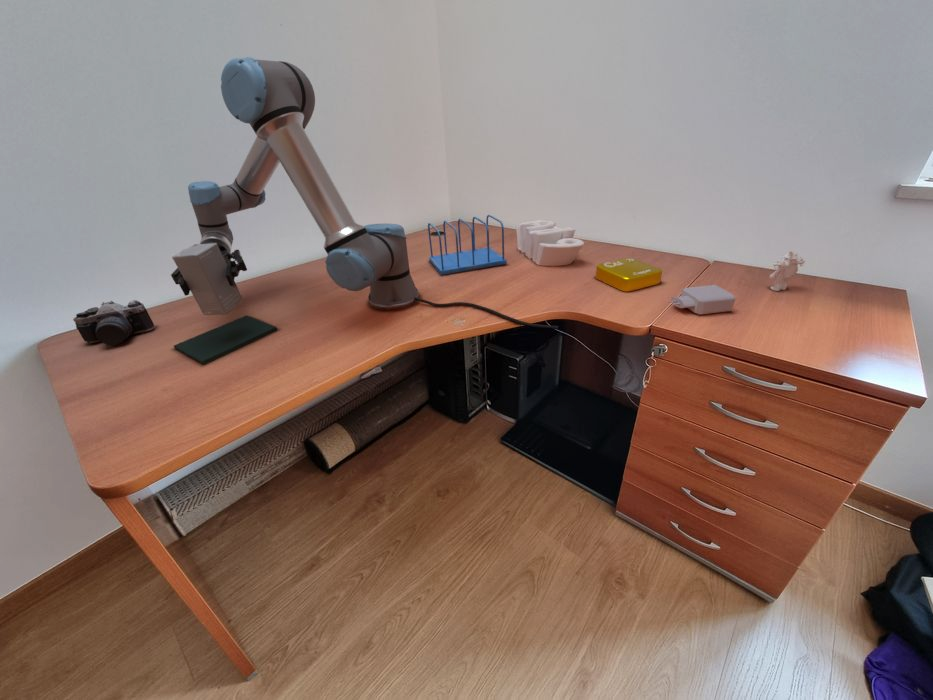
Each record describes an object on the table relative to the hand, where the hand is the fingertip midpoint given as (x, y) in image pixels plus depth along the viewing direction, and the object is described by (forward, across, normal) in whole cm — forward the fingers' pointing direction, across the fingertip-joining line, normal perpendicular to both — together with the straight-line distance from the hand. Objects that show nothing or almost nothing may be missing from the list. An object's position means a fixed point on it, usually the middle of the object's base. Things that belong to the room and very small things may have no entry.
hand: (207, 285), depth 93 cm
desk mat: (-4, +2, -18) cm, 18 cm away
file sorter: (-27, -77, -23) cm, 85 cm away
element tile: (+15, -115, -21) cm, 118 cm away
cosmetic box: (-5, 0, -9) cm, 10 cm away
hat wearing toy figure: (+41, -148, -20) cm, 155 cm away
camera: (-18, +30, -18) cm, 40 cm away
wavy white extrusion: (-21, -107, -24) cm, 112 cm away
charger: (+39, -117, -19) cm, 125 cm away
